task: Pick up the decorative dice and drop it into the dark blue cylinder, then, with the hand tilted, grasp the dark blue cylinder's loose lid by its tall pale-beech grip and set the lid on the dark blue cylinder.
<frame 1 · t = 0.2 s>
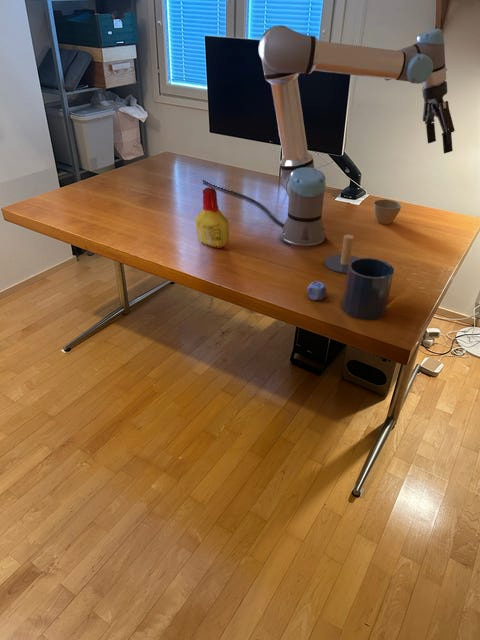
hand: (439, 147, 168), 28 cm above the table, tool tilted 20°, fingers open, 13 cm apart
lid: (344, 264, 152), point 1 cm above the table
bottle: (212, 245, 165), on the table
dark blue cylinder: (363, 308, 132), on the table
flower pot: (384, 222, 183), on the table
decorative dice: (315, 297, 137), on the table
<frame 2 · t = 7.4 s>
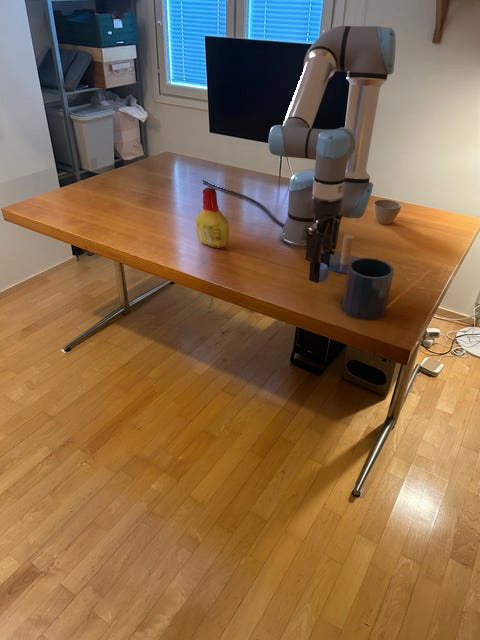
hand: (318, 277, 134), 6 cm above the table, tool pointing down, fingers closed on decorative dice, 4 cm apart
decorative dice: (318, 279, 134), point 6 cm above the table, touching gripper
everything else where it was.
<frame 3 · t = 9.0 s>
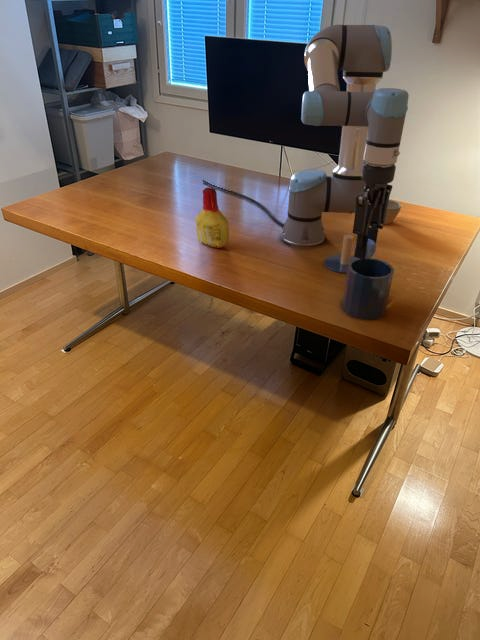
hand: (364, 254, 124), 16 cm above the table, tool pointing down, fingers closed on decorative dice, 4 cm apart
decorative dice: (363, 256, 124), point 15 cm above the table, touching gripper
everything else where it was.
when the fingers open (12 cm above the table, at t = 11.3 s): decorative dice stays where it is, resting on dark blue cylinder.
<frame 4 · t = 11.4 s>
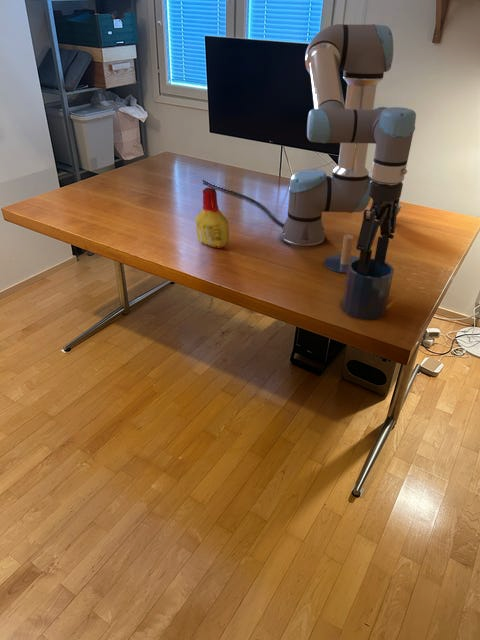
hand: (371, 266, 125), 13 cm above the table, tool pointing down, fingers open, 8 cm apart
decorative dice: (364, 306, 132), resting on dark blue cylinder
everything else where it was.
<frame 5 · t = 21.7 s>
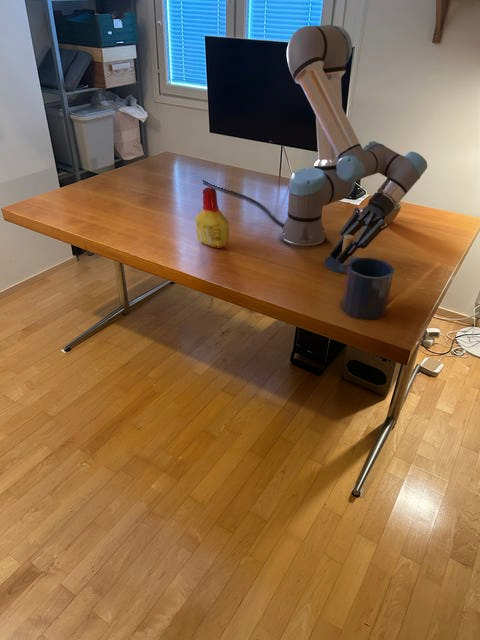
hand: (336, 259, 149), 3 cm above the table, tool tilted 45°, fingers closed on lid, 3 cm apart
lid: (344, 264, 152), point 1 cm above the table, touching gripper
everything else where it was.
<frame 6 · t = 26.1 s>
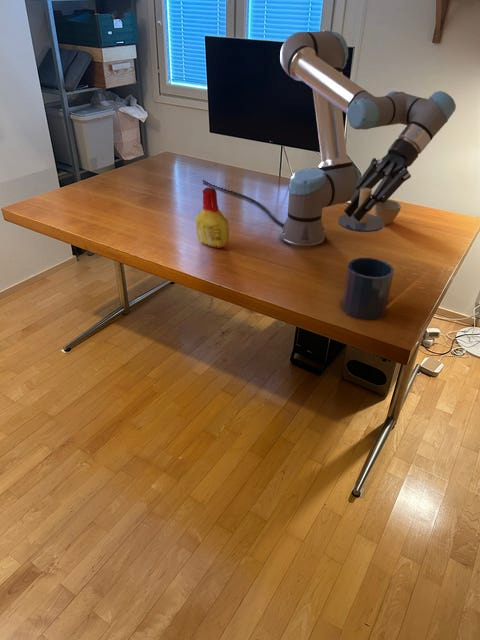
hand: (351, 216, 131), 21 cm above the table, tool tilted 45°, fingers closed on lid, 3 cm apart
lid: (361, 223, 134), point 19 cm above the table, touching gripper
everything else where it was.
when the fingers open (15 cm above the table, at t = 30.5 s): lid stays where it is, resting on dark blue cylinder.
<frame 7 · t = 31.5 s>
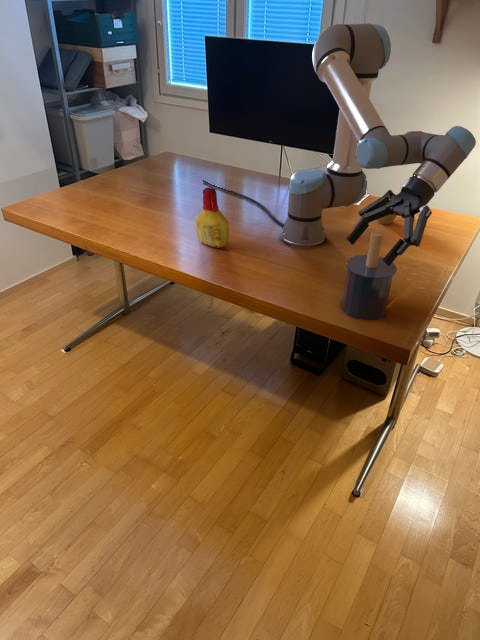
hand: (366, 252, 121), 17 cm above the table, tool tilted 45°, fingers open, 13 cm apart
lid: (371, 267, 125), point 12 cm above the table, touching dark blue cylinder
everything else where it was.
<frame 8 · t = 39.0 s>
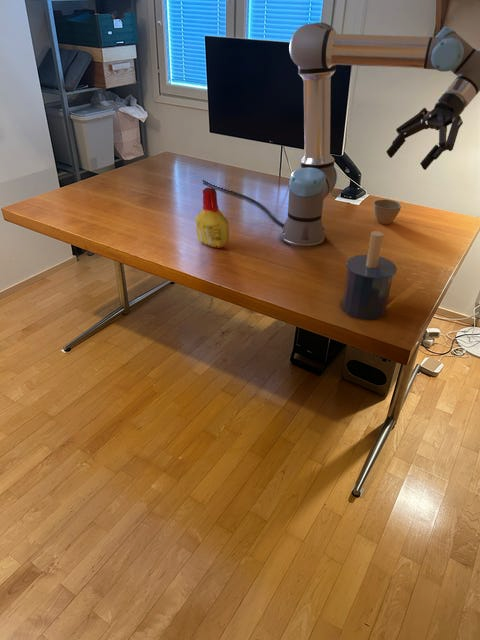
hand: (405, 160, 140), 32 cm above the table, tool tilted 45°, fingers open, 13 cm apart
nothing on the table moved.
at the end: decorative dice inside the target area in the dark blue cylinder (0.3 cm from its centre), point 0.3 cm above the dark blue cylinder's base; lid 0.0 cm off-centre on the dark blue cylinder, point 12.5 cm above the dark blue cylinder's base; lid tilted 0° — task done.
